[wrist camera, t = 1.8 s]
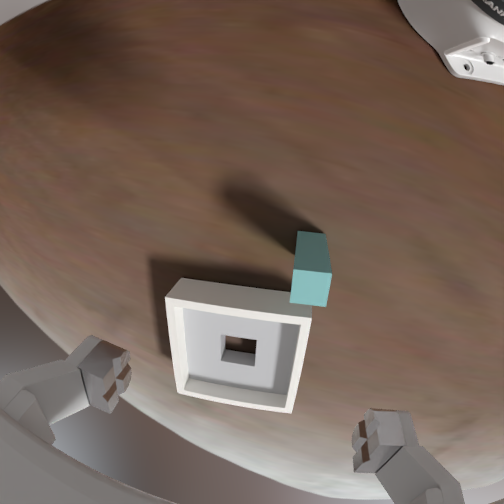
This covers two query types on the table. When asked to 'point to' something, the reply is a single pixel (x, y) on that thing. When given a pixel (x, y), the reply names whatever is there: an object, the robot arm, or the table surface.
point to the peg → (311, 270)
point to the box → (244, 326)
